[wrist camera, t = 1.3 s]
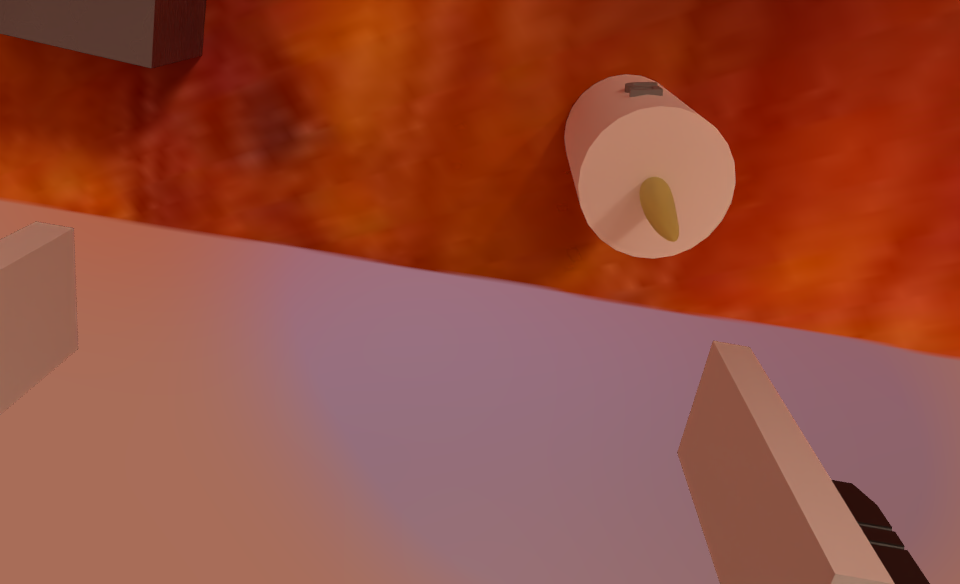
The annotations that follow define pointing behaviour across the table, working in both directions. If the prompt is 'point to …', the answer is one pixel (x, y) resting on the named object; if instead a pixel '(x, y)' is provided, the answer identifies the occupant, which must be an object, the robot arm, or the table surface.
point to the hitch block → (111, 27)
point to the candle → (647, 167)
